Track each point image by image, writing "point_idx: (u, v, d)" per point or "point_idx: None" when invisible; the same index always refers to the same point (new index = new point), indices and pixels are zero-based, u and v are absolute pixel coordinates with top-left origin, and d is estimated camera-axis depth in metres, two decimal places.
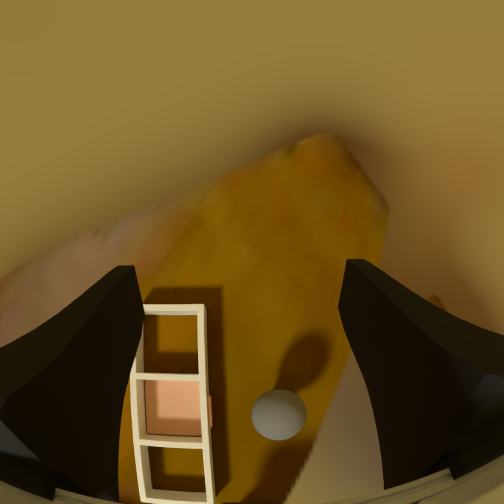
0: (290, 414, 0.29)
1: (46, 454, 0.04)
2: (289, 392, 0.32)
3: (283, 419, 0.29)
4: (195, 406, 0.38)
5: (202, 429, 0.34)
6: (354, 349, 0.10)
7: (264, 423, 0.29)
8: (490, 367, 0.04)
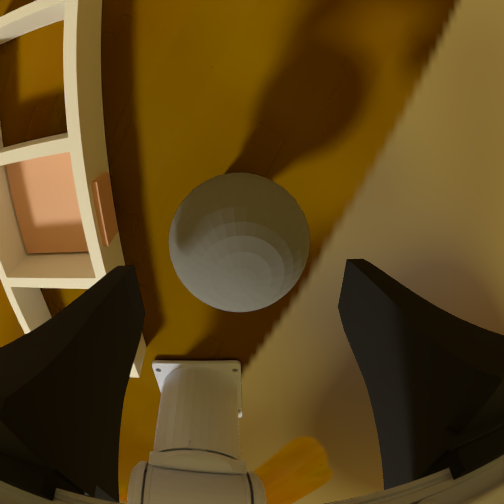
0: (265, 268, 0.11)
1: (46, 454, 0.04)
2: (269, 190, 0.12)
3: (243, 283, 0.11)
4: None
5: (91, 253, 0.17)
6: (353, 349, 0.10)
7: (193, 282, 0.12)
8: (489, 367, 0.04)
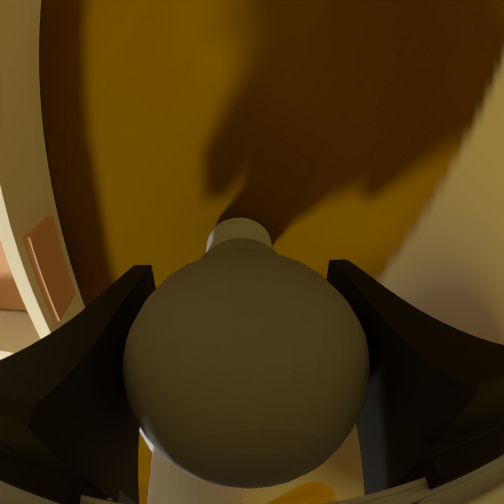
0: (298, 464, 0.05)
1: (73, 461, 0.04)
2: (311, 313, 0.06)
3: (256, 483, 0.05)
4: None
5: (38, 330, 0.11)
6: None
7: (169, 461, 0.06)
8: (465, 374, 0.04)
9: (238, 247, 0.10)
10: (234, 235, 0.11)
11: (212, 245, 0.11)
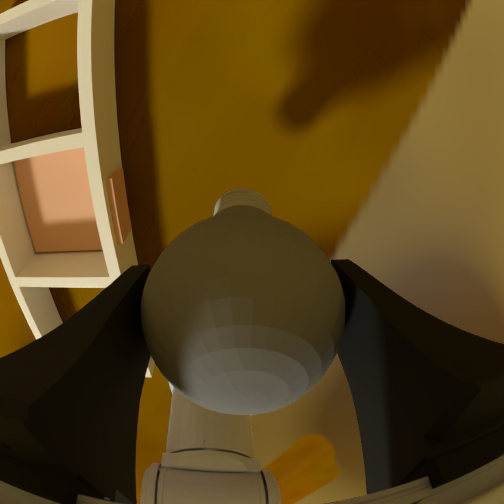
0: (280, 386, 0.07)
1: (70, 460, 0.04)
2: (291, 259, 0.07)
3: (246, 403, 0.07)
4: None
5: (104, 251, 0.17)
6: (338, 351, 0.10)
7: (175, 387, 0.08)
8: (468, 374, 0.04)
9: (239, 212, 0.11)
10: (237, 203, 0.13)
11: (218, 211, 0.13)
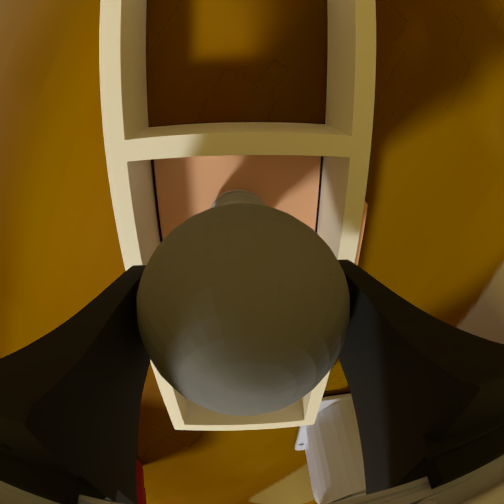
0: (287, 379, 0.06)
1: (71, 461, 0.04)
2: (294, 244, 0.07)
3: (251, 399, 0.06)
4: (300, 215, 0.15)
5: None
6: None
7: (174, 386, 0.07)
8: (467, 374, 0.04)
9: None
10: (233, 202, 0.13)
11: None
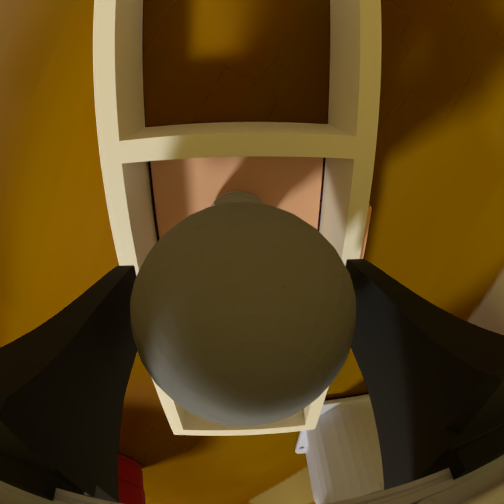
0: (291, 387, 0.06)
1: (46, 454, 0.04)
2: (297, 243, 0.07)
3: (252, 409, 0.06)
4: (301, 218, 0.15)
5: None
6: (353, 349, 0.10)
7: (169, 395, 0.07)
8: (489, 367, 0.04)
9: None
10: None
11: None
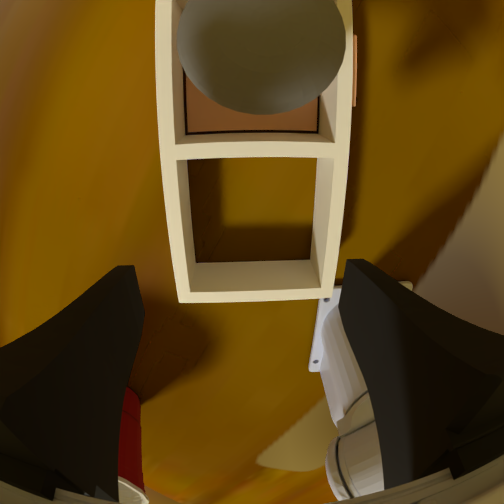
0: (299, 10, 0.07)
1: (46, 454, 0.04)
2: None
3: (272, 21, 0.07)
4: None
5: (339, 108, 0.14)
6: (353, 349, 0.10)
7: (205, 40, 0.08)
8: (489, 366, 0.04)
9: None
10: None
11: None
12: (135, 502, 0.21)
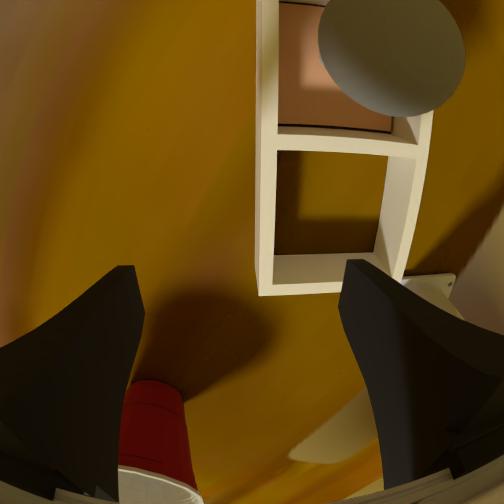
0: (451, 35, 0.07)
1: (46, 454, 0.04)
2: None
3: (436, 41, 0.07)
4: None
5: (423, 114, 0.14)
6: (353, 349, 0.10)
7: (376, 42, 0.08)
8: (489, 367, 0.04)
9: None
10: None
11: None
12: None
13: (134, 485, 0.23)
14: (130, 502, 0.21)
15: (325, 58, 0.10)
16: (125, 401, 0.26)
